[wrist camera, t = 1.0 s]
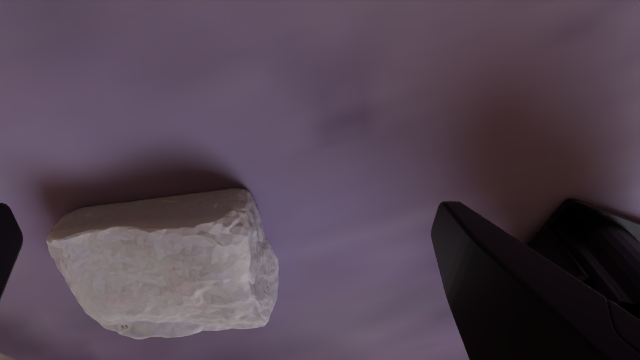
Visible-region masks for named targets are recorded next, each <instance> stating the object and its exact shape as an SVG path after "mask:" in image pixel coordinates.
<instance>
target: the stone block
mask: <svg viewBox="0 0 640 360" xmlns="http://www.w3.org/2000/svg"><path fill="white" fill-rule="evenodd" d="M261 221H262V220H261V217H260V214H259V211H258V209H257V206H256V204H255V201H254V198H253V197H252V195H251V194H250V192H249V191H248V190H246V189H239V188H232V189H223V190H216V191H207V192H200V193H192V194H184V195H176V196H169V197H160V198H153V199H143V200H137V201H132V202H125V203H122V202H119V203H112V204H104V205H95V206H89V207H83V208H79V209H76V210H74V211H72V212H70V213H68V214H66V215H64V216H63V217H62V218H61V219H60V220H59V221H58V222H57V223H56V224H55V225H54V227H53V228H52V229H51V232H50V234H49V235H48V236H47V237H46V242H47V245H48V249H49V253H50V255H51V257H52V258H53V259H54V261H55V263H56V266H57V268H58V270H59V271H60V272H61V273H62V275H63V276H64V278H65V280H66V282H67V284H68V286H69V288H70V289H71V291H72V293H73V294H74V295H75V297H76V299H77V301H78V302H79V304H80V305H81V306H82V308H83V309H84V311H85V312H86V313H87V314H88V315H90V316H91V317H92V318H93V319H95V320H96V321H98V322H99V323H100V324H101V325H102V326H103V327H104V328H105V329H108V330H113V331H117V332H118V333H119V334H120V335H124V336H128V337H132V338H135V339H144V338H148V337H164V338H169V337H182V336H187V335H192V334H195V333H198V332H201V331H202V330H207V331H209V330H213V331H218V330H225V329H230V328H236V329H249V328H256V327H262V326H266V323H267V322H268V320H269V318H270V314H271V312H272V310H273V307H274V305H275V303H276V300H277V295H278V287H279V279H278V270H279V266H278V259H277V258H276V256H275V254H274V252H273V250H272V248H271V244H270V242H269V241H268V240H267V239H266V238H265V235H264V231H263V224H262V222H261Z"/></svg>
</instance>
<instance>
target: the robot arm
mask: <svg viewBox="0 0 640 360" xmlns="http://www.w3.org/2000/svg"><path fill="white" fill-rule="evenodd" d="M571 207H574V208H573V209H570V208H571ZM569 209H570V210H569ZM431 238H432V243H433V247H434V250H435V254H436V258H437V262H438V266H439V270H440V274H441V278H442V282H443V286H444V290H445V294H446V297H447V300H448V303H449V306H450V309H451V311H452V314H453V317H454V319H455V322H456V325H457V327H458V330H459V333H460V335H461V338H462V341H463V343H464V346H465V349H466V351H467V354H468V357H469V359H470V360H640V222H637V221H635V220H632V219H629V218H626V217H624V216H621V215H618V214H615V213H613V212H610V211H607V210H605V209H602V208H599V207H596V206H594V205H591V204H588V203H585V202H583V201H580V200H577V199H573V198H572V199H568V200H566V201H564V202H563V203H562V204H561V206H560V207H559V208H558V209H557V210H556V212H555V213H554V214H553V215H552V216H551V218H550V219H549V220H548V221H547V222H546V224H545V225H544V226H543V227H542V228H541V230H540V231H539V232H538V233H537V234H536V236H535V237H534V238H533V239H532V240H531V242H530V243H529V244H528V245H527V246H526V245H525V244H523V243H522V242H520V241H519V240H517V239H516V238H514V237H513V236H511V235H510V234H508V233H507V232H505V231H504V230H502V229H501V228H499V227H497V226H496V225H494V224H493V223H491V222H490V221H488V220H487V219H485V218H484V217H482V216H481V215H479V214H478V213H476V212H475V211H473V210H472V209H470V208H469V207H467V206H465V205H464V204H462V203H461V202H458V201H444V202H441V203H440V205H439V206H438V209H437V213H436V216H435V219H434V222H433V226H432V230H431ZM22 243H23V235H22V232H21V230H20V228H19V226H18V223H17V221H16V219H15V217H14V215H13V213H12V211H11V209H10V207H9V206H8V205H6V204H4V203H0V299H1V297H2V294H3V292H4V289H5V287H6V284H7V282H8V279H9V277H10V274H11V272H12V269H13V267H14V264H15V262H16V259H17V257H18V254H19V252H20V249H21V247H22Z"/></svg>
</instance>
